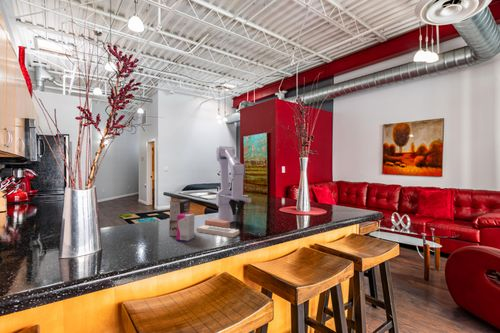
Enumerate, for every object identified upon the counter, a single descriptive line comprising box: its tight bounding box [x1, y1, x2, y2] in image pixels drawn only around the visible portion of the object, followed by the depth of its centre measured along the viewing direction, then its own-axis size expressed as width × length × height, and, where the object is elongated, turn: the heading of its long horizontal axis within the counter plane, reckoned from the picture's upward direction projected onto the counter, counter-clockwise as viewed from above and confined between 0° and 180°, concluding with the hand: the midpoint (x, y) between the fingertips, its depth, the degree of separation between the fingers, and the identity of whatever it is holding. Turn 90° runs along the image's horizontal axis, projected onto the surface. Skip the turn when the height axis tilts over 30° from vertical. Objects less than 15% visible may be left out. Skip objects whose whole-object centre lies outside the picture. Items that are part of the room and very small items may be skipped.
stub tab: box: [204, 218, 231, 228], centre depth 137 cm, size 5×12×4 cm, turn 67°
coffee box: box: [168, 198, 191, 237], centre depth 125 cm, size 9×6×16 cm
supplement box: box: [176, 212, 195, 243], centre depth 117 cm, size 6×6×12 cm
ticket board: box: [196, 224, 240, 238], centre depth 129 cm, size 7×20×2 cm, turn 67°
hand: (236, 215), depth 132 cm, fingers open, 2 cm apart
